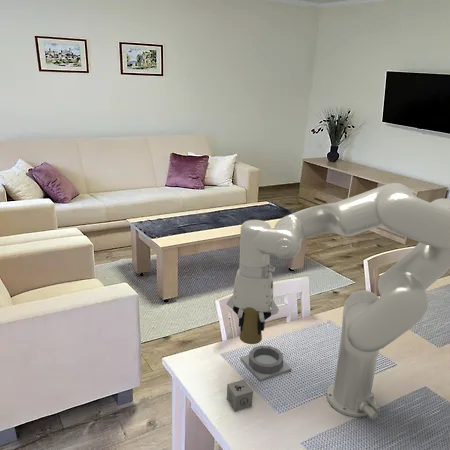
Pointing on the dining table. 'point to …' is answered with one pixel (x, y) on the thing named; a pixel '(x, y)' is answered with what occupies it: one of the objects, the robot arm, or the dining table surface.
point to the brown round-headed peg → (250, 327)
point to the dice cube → (239, 395)
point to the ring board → (265, 363)
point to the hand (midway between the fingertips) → (251, 329)
